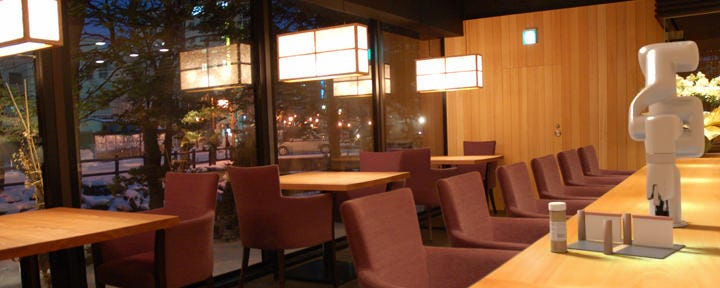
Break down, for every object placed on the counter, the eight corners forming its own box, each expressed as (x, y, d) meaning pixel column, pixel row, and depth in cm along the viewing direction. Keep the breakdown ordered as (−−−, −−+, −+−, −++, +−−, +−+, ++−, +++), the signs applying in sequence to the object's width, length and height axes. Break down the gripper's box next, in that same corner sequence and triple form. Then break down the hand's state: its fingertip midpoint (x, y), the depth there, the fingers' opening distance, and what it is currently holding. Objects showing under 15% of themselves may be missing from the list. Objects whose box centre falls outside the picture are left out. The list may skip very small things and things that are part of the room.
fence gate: (632, 243, 170) (632, 215, 170) (634, 242, 171) (634, 214, 171) (672, 247, 163) (671, 217, 163) (674, 246, 164) (673, 216, 164)
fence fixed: (579, 239, 182) (579, 209, 182) (633, 245, 172) (632, 213, 171) (555, 248, 170) (554, 216, 170) (611, 255, 160) (610, 221, 160)
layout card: (592, 237, 186) (592, 235, 186) (685, 246, 168) (685, 244, 168) (563, 248, 171) (563, 246, 171) (661, 259, 153) (661, 257, 153)
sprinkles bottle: (566, 249, 168) (565, 201, 168) (568, 253, 164) (566, 203, 164) (549, 249, 169) (547, 201, 169) (550, 253, 165) (549, 203, 165)
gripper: (655, 157, 178) (656, 220, 178) (637, 160, 167) (639, 227, 168) (683, 157, 173) (684, 222, 173) (666, 161, 162) (668, 229, 162)
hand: (662, 224), depth 170 cm, fingers closed
